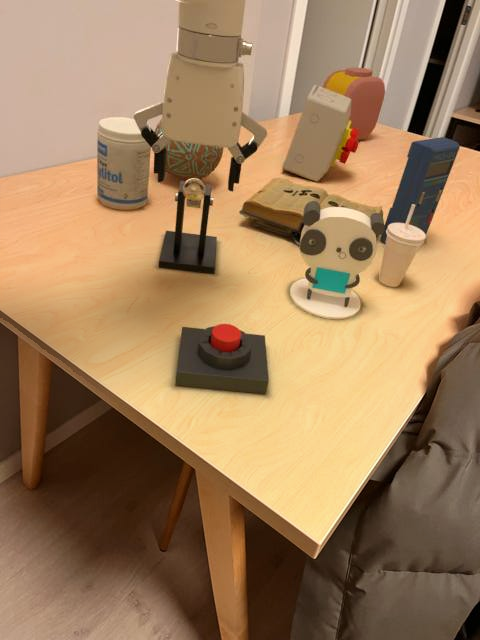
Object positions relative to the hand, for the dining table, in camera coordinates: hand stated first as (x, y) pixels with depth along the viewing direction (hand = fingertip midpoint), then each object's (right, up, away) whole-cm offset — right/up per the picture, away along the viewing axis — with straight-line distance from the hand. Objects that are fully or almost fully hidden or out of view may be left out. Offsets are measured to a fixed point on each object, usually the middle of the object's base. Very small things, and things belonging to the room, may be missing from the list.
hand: (196, 183), depth 73 cm
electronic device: (+39, -3, +33) cm, 51 cm away
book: (+20, -1, +31) cm, 37 cm away
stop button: (+4, -22, -8) cm, 24 cm away
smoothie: (+32, -12, +19) cm, 39 cm away
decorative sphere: (-6, +12, +44) cm, 46 cm away
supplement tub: (-17, +4, +30) cm, 34 cm away
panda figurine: (+19, -16, +11) cm, 27 cm away
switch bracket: (-3, -8, +16) cm, 18 cm away
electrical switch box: (+25, +18, +60) cm, 67 cm away
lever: (-1, -2, +5) cm, 6 cm away
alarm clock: (+38, +37, +90) cm, 105 cm away
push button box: (+4, -25, -6) cm, 26 cm away
